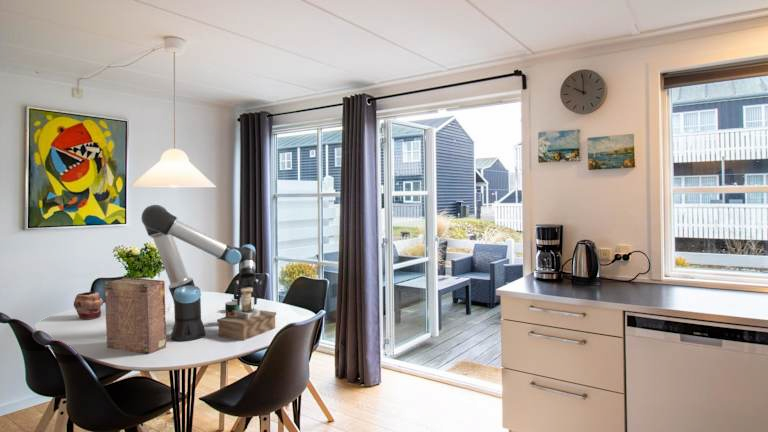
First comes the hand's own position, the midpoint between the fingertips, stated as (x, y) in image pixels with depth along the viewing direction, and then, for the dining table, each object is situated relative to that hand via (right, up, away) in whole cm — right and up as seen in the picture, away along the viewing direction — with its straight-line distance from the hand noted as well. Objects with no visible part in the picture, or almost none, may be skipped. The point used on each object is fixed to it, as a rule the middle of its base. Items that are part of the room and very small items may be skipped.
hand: (246, 310), depth 225 cm
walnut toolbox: (-1, -12, +4) cm, 12 cm away
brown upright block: (-44, -13, -18) cm, 49 cm away
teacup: (-16, -10, +47) cm, 51 cm away
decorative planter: (-98, -11, +33) cm, 104 cm away
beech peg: (-1, -4, +4) cm, 5 cm away
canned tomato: (-13, -11, +19) cm, 26 cm away
